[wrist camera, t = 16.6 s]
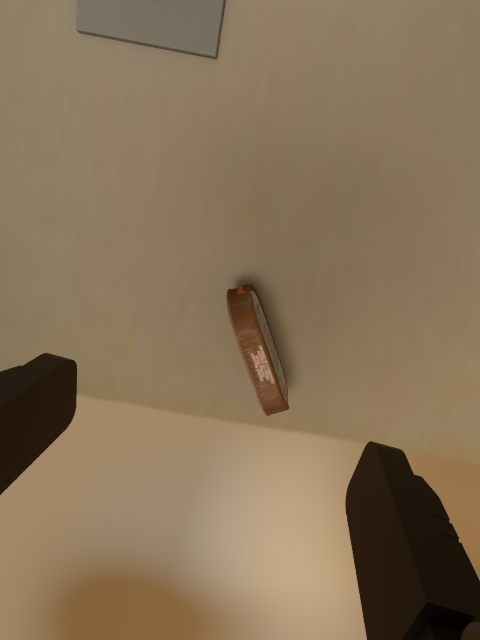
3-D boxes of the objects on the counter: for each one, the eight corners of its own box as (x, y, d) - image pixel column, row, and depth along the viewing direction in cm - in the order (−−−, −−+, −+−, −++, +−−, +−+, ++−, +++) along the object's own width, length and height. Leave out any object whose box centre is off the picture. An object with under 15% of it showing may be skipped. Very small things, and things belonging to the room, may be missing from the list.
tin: (231, 282, 39) (215, 302, 31) (257, 274, 38) (247, 293, 30) (269, 390, 43) (264, 432, 35) (293, 385, 42) (292, 427, 34)
